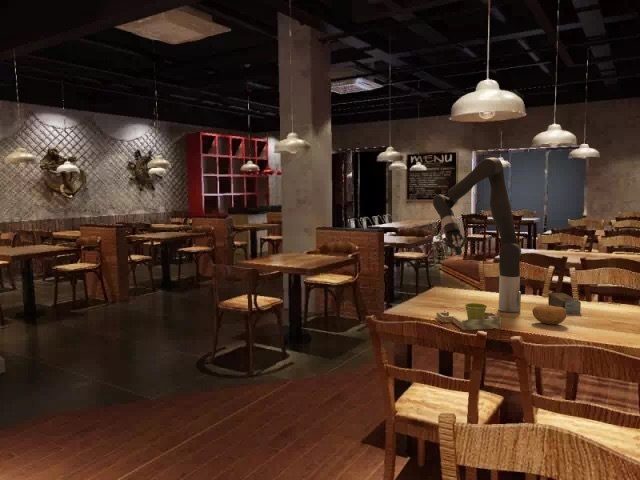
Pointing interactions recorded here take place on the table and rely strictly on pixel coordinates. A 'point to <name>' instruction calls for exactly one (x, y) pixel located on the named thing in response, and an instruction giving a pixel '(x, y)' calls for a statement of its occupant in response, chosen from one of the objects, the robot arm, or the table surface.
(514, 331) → the table surface
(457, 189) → the robot arm
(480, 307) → the plant pot
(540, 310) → the potato
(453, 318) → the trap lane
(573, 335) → the table surface
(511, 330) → the table surface
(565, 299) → the beverage carton
